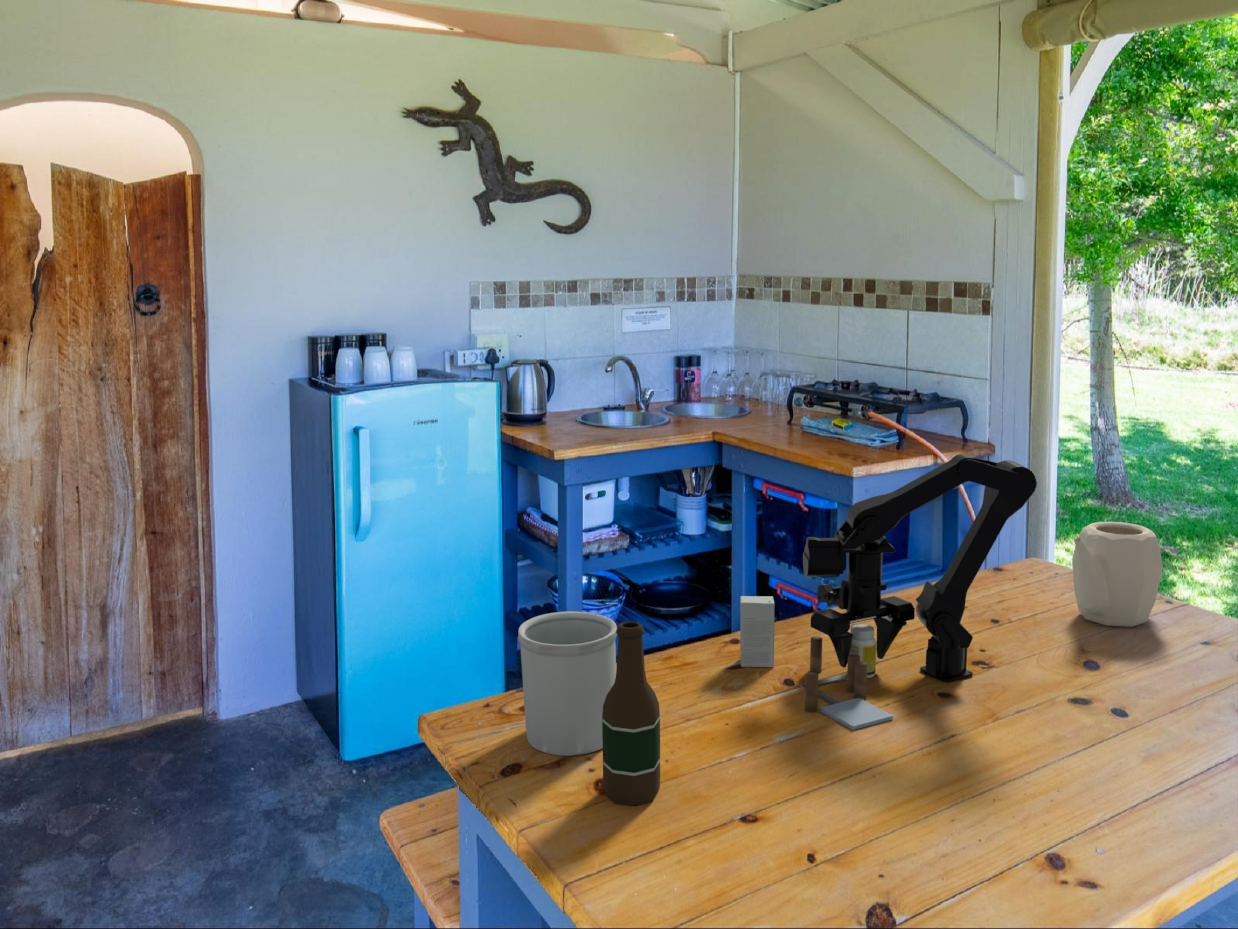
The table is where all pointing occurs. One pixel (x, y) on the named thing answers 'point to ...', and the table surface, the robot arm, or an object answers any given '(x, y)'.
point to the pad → (856, 713)
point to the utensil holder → (567, 679)
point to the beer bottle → (631, 726)
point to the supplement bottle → (864, 646)
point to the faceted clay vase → (1116, 573)
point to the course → (854, 677)
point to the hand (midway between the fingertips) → (861, 662)
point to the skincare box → (757, 631)
